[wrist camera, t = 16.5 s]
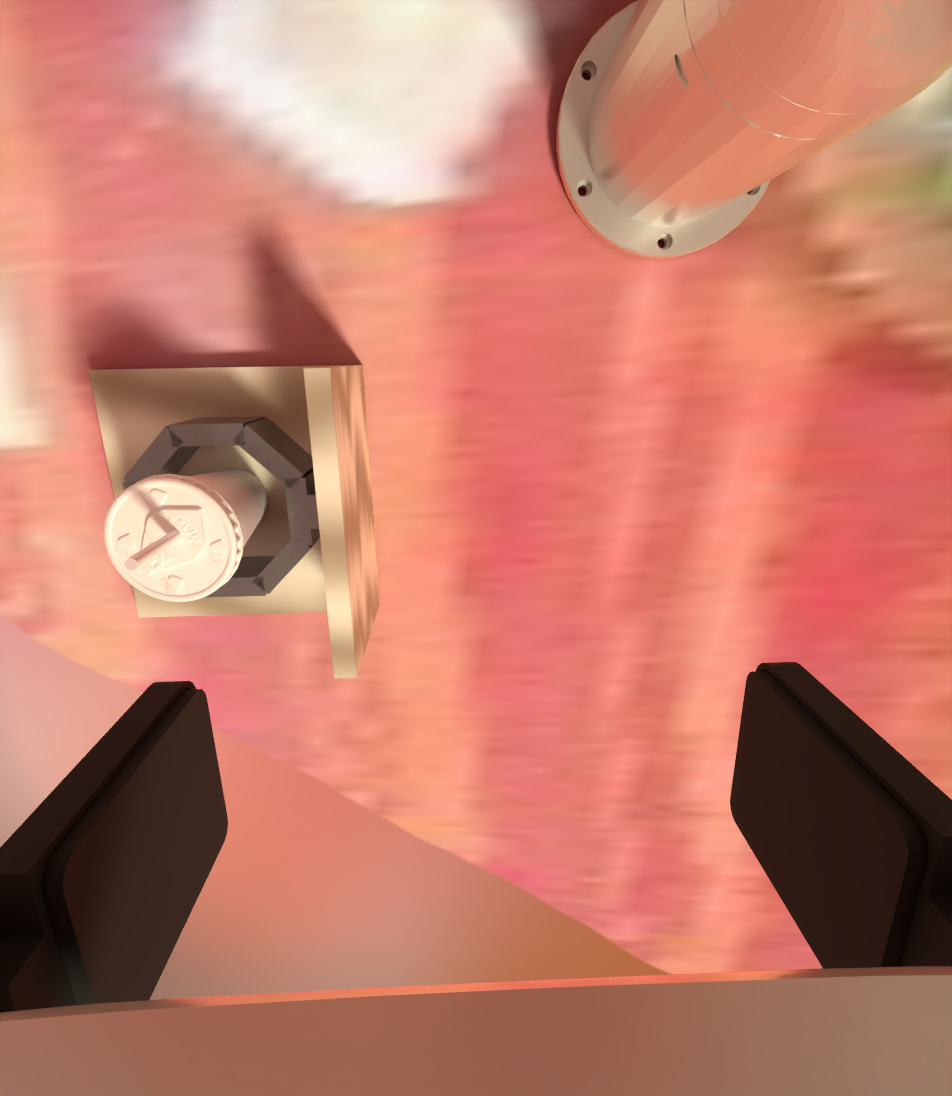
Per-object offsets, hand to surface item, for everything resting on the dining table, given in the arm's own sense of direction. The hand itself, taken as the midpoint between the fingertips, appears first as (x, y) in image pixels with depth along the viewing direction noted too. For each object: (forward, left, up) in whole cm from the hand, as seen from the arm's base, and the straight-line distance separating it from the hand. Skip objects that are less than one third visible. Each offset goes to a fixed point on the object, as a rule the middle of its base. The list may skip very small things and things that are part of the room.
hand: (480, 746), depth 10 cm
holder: (+2, -14, -30) cm, 33 cm away
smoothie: (+2, -14, -29) cm, 33 cm away
